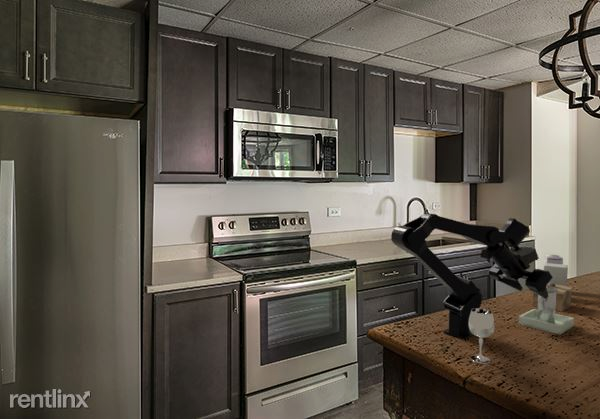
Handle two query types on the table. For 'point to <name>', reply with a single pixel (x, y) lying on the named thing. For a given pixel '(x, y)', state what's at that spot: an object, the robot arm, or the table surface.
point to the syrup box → (553, 259)
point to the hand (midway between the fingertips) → (533, 293)
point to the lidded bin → (558, 297)
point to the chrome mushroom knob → (547, 306)
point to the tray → (558, 328)
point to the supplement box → (557, 273)
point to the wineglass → (481, 329)
